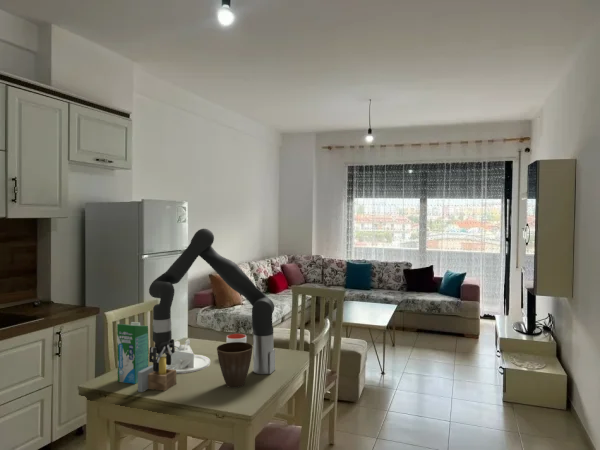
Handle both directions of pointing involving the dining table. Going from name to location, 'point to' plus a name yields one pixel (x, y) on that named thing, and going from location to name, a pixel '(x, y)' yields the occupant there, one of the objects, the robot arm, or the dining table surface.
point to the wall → (144, 378)
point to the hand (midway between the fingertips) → (162, 367)
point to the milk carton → (131, 351)
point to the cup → (236, 338)
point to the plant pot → (234, 362)
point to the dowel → (162, 365)
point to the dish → (187, 359)
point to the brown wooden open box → (162, 380)
